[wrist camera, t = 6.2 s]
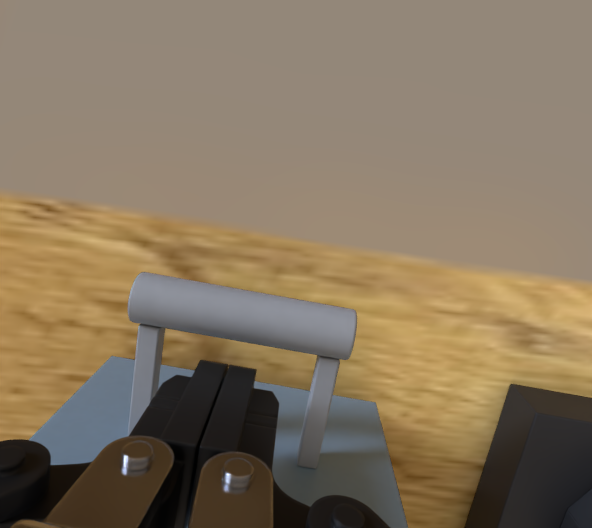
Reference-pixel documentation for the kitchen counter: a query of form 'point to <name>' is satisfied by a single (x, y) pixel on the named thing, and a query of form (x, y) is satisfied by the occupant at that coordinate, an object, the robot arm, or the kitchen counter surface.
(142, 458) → the robot arm
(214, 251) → the kitchen counter surface
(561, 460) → the control block
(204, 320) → the drawer
